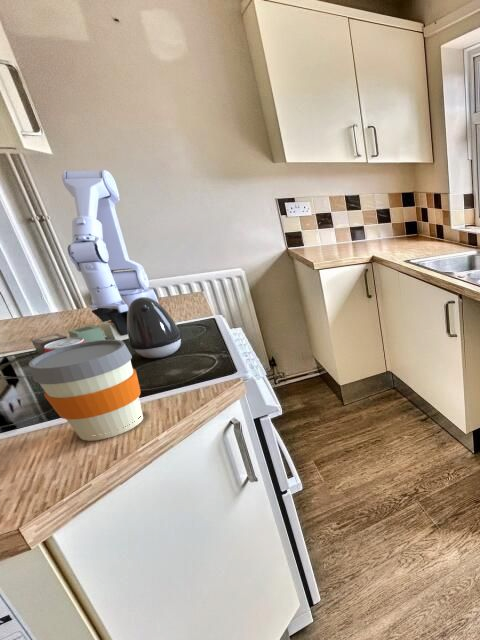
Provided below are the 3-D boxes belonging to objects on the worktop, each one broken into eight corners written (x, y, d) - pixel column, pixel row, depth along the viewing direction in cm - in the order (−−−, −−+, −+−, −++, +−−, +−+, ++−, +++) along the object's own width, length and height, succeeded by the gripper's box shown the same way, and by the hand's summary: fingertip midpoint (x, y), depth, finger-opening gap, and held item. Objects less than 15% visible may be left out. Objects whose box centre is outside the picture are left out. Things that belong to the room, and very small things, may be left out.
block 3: (128, 333, 123) (121, 317, 121) (137, 335, 121) (130, 319, 119) (107, 339, 119) (100, 322, 117) (116, 342, 117) (109, 325, 115)
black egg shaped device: (137, 366, 102) (113, 307, 96) (135, 353, 109) (113, 297, 103) (188, 354, 108) (168, 297, 102) (183, 343, 115) (165, 289, 109)
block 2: (98, 341, 117) (91, 324, 115) (107, 344, 115) (100, 327, 113) (75, 348, 113) (67, 330, 111) (84, 351, 111) (76, 333, 109)
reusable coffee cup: (171, 411, 83) (144, 341, 77) (101, 451, 71) (63, 372, 65) (122, 405, 85) (92, 336, 79) (46, 442, 74) (5, 365, 68)
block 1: (65, 350, 111) (57, 333, 110) (74, 354, 109) (66, 336, 108) (40, 358, 107) (31, 340, 105) (49, 361, 105) (39, 343, 103)
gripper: (70, 287, 114) (90, 333, 119) (97, 293, 108) (117, 341, 113) (102, 281, 120) (120, 325, 125) (129, 286, 114) (147, 332, 119)
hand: (120, 332), depth 119 cm, fingers closed on block 3, 5 cm apart
